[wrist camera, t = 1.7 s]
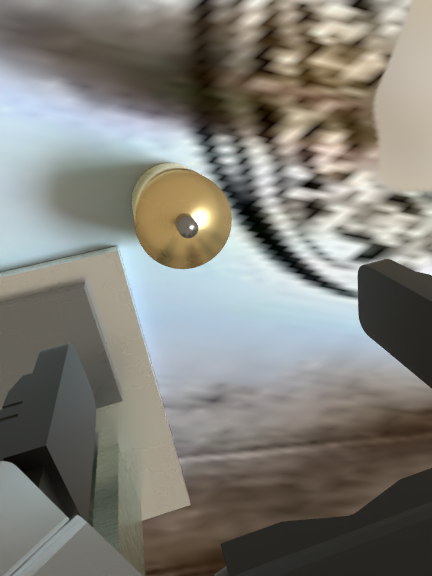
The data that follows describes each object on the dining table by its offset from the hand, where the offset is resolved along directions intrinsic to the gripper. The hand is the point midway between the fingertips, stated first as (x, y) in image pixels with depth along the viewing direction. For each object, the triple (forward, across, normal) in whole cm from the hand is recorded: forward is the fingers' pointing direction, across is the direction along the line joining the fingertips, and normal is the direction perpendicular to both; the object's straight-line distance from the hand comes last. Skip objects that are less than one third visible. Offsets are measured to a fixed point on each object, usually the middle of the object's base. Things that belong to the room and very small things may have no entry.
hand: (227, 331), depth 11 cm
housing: (+16, -1, 0) cm, 17 cm away
